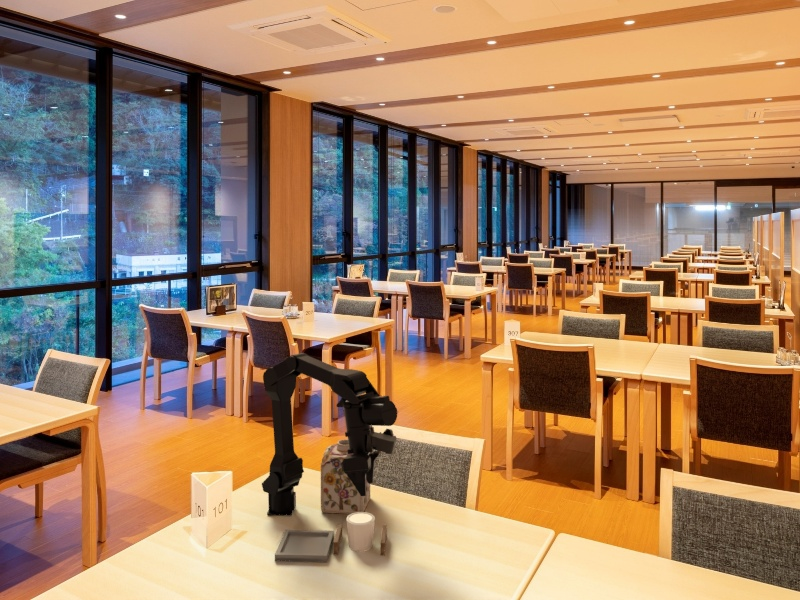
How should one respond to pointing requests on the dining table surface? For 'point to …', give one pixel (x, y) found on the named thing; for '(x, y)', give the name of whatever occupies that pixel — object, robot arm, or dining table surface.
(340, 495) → the decorative jar
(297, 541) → the tray
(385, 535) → the wooden pieces
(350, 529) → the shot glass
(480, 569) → the dining table surface
